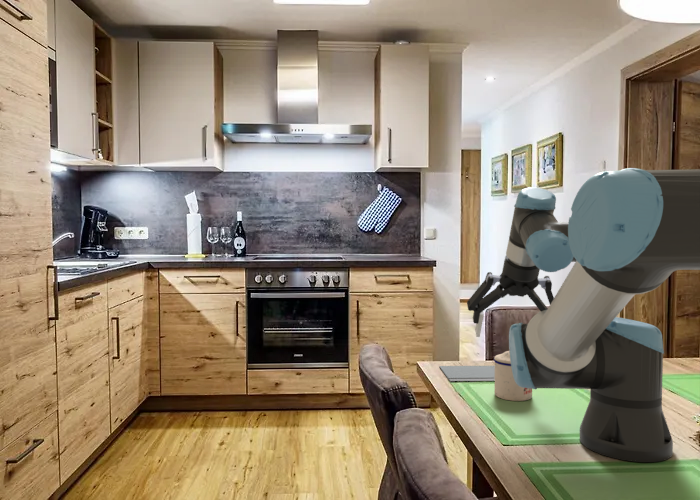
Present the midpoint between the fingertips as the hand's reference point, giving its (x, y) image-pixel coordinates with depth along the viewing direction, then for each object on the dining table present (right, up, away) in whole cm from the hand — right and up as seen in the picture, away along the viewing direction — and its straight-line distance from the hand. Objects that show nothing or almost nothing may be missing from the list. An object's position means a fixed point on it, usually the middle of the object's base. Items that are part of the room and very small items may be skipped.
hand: (506, 335), depth 126 cm
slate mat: (-1, -14, +24) cm, 28 cm away
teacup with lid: (+3, -15, +4) cm, 16 cm away
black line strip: (0, -14, +16) cm, 21 cm away
